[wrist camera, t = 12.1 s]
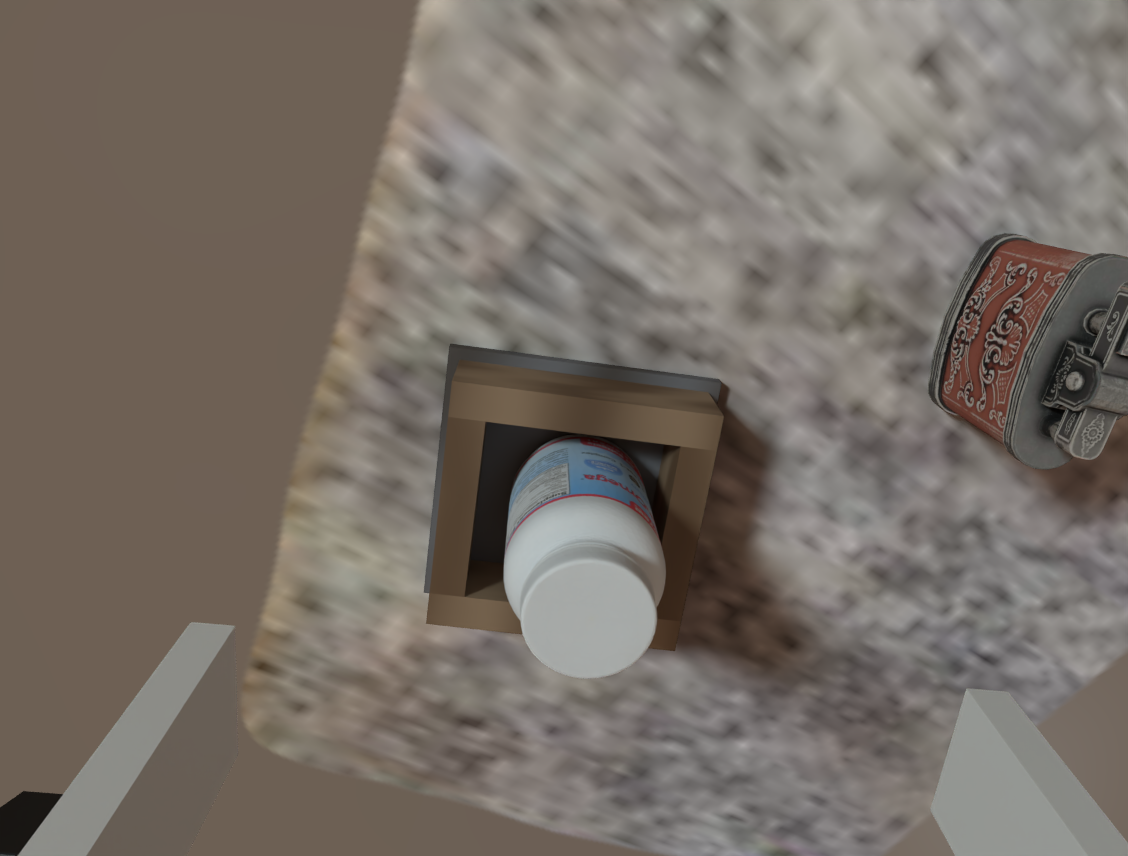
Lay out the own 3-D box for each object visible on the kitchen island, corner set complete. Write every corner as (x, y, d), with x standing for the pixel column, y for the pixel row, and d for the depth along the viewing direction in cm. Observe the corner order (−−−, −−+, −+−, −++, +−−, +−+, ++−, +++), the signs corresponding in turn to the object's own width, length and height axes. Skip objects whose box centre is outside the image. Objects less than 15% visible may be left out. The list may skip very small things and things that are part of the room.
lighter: (981, 417, 40) (1119, 504, 30) (912, 401, 40) (1029, 485, 30) (1051, 243, 37) (1224, 279, 28) (978, 225, 37) (1128, 255, 28)
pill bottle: (668, 501, 40) (716, 633, 29) (564, 576, 41) (574, 729, 31) (588, 402, 38) (608, 505, 28) (482, 483, 40) (462, 611, 29)
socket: (718, 379, 39) (738, 406, 35) (670, 614, 43) (683, 662, 39) (450, 343, 38) (440, 367, 34) (425, 586, 42) (413, 632, 38)
